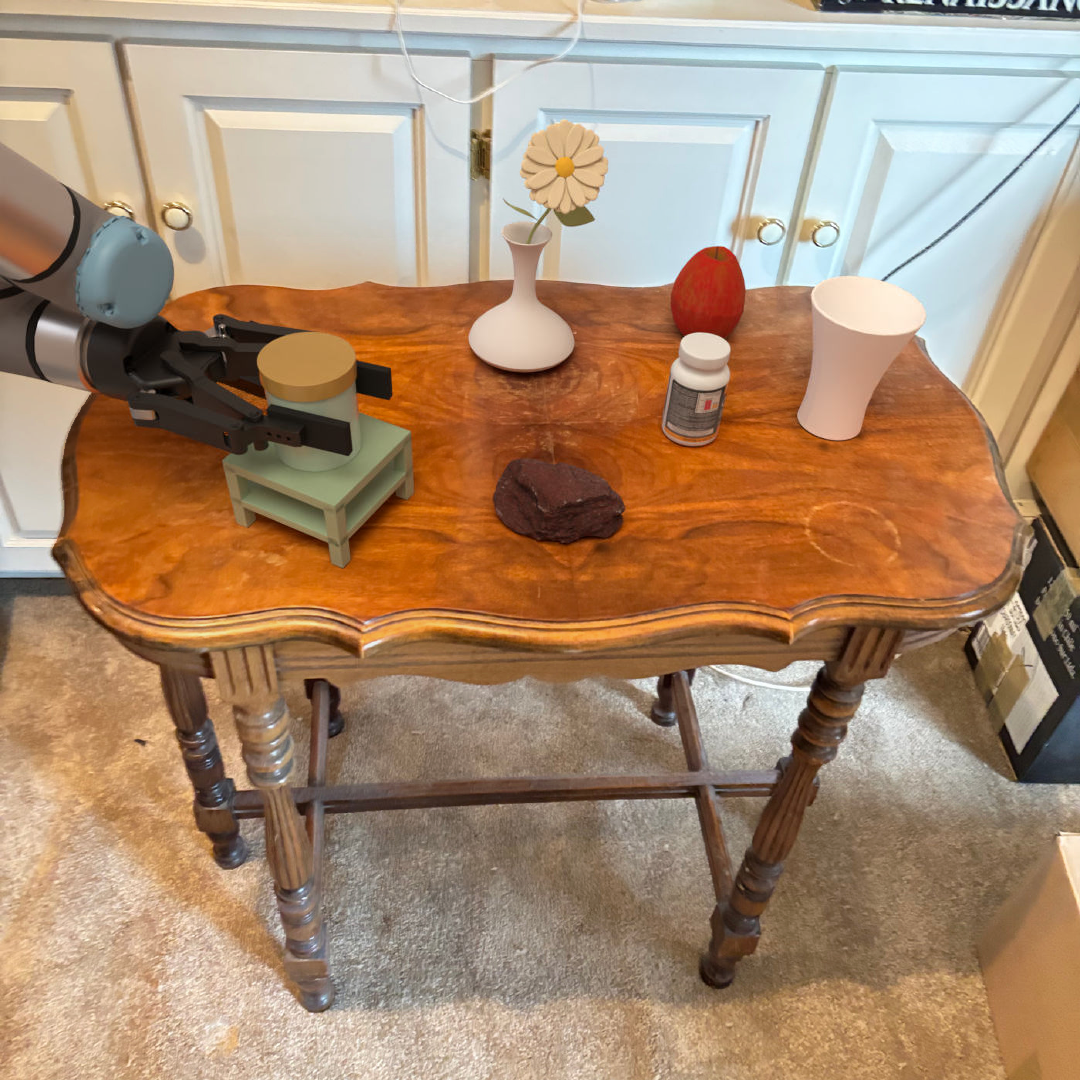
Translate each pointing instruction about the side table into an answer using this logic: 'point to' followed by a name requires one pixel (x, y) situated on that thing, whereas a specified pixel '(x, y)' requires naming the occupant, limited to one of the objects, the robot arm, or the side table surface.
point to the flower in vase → (563, 185)
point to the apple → (709, 293)
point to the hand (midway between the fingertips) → (370, 410)
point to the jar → (312, 390)
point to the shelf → (324, 486)
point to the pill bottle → (697, 390)
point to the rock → (556, 501)
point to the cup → (853, 349)
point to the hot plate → (247, 382)
